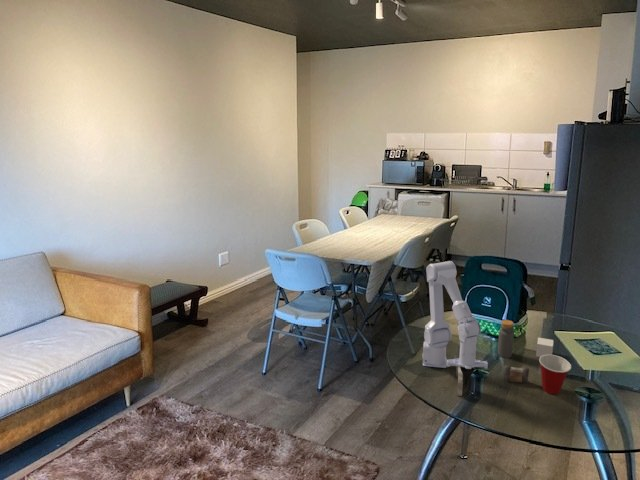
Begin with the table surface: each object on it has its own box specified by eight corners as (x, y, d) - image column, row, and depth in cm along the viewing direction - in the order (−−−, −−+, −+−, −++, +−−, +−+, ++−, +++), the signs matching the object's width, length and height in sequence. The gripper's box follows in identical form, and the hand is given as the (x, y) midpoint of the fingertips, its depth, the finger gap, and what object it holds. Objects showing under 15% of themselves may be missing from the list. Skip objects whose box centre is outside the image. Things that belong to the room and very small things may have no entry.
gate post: (455, 376, 194) (456, 363, 193) (455, 372, 197) (456, 360, 195) (463, 377, 194) (464, 364, 192) (463, 373, 196) (463, 360, 195)
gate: (457, 376, 194) (458, 365, 192) (461, 377, 193) (462, 365, 192) (457, 395, 182) (458, 383, 181) (462, 395, 182) (462, 383, 180)
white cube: (535, 356, 207) (537, 343, 206) (536, 349, 212) (537, 337, 211) (551, 359, 205) (553, 346, 203) (552, 352, 210) (553, 339, 208)
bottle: (513, 358, 206) (516, 325, 202) (498, 357, 207) (501, 324, 203) (510, 351, 212) (513, 319, 207) (496, 350, 213) (499, 318, 209)
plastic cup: (554, 402, 177) (558, 373, 174) (529, 387, 186) (532, 359, 183) (574, 393, 182) (578, 364, 178) (549, 379, 191) (552, 351, 188)
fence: (503, 381, 190) (504, 368, 189) (502, 377, 193) (503, 364, 191) (528, 383, 188) (529, 370, 187) (527, 380, 191) (528, 367, 189)
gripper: (448, 355, 179) (447, 388, 183) (490, 357, 177) (487, 390, 181) (446, 346, 186) (445, 377, 190) (486, 347, 184) (484, 379, 188)
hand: (465, 383), depth 186 cm, fingers closed
